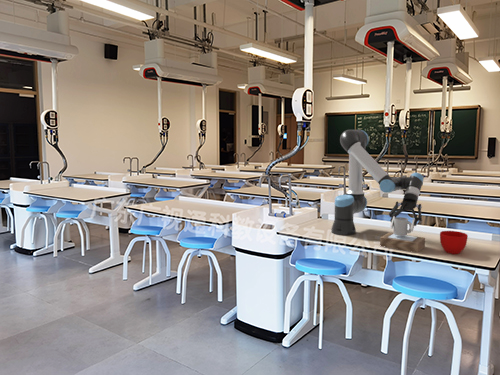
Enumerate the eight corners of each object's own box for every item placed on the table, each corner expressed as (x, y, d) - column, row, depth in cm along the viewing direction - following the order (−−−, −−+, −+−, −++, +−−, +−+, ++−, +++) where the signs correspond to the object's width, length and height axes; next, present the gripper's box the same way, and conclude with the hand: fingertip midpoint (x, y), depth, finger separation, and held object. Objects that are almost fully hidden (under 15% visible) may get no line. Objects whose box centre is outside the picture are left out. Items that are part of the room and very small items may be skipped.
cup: (395, 232, 226) (396, 216, 225) (414, 234, 220) (414, 218, 218) (391, 234, 220) (392, 218, 219) (410, 237, 214) (410, 221, 213)
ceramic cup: (455, 246, 220) (456, 229, 218) (471, 256, 203) (472, 237, 202) (431, 246, 220) (432, 229, 219) (445, 255, 203) (446, 237, 202)
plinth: (379, 246, 221) (380, 237, 221) (388, 240, 232) (388, 231, 232) (417, 252, 209) (418, 242, 209) (424, 246, 220) (425, 237, 220)
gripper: (433, 202, 223) (424, 235, 213) (392, 198, 237) (382, 229, 226) (431, 194, 218) (422, 227, 208) (390, 190, 232) (379, 222, 222)
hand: (401, 228), depth 217 cm, fingers closed on cup, 10 cm apart
